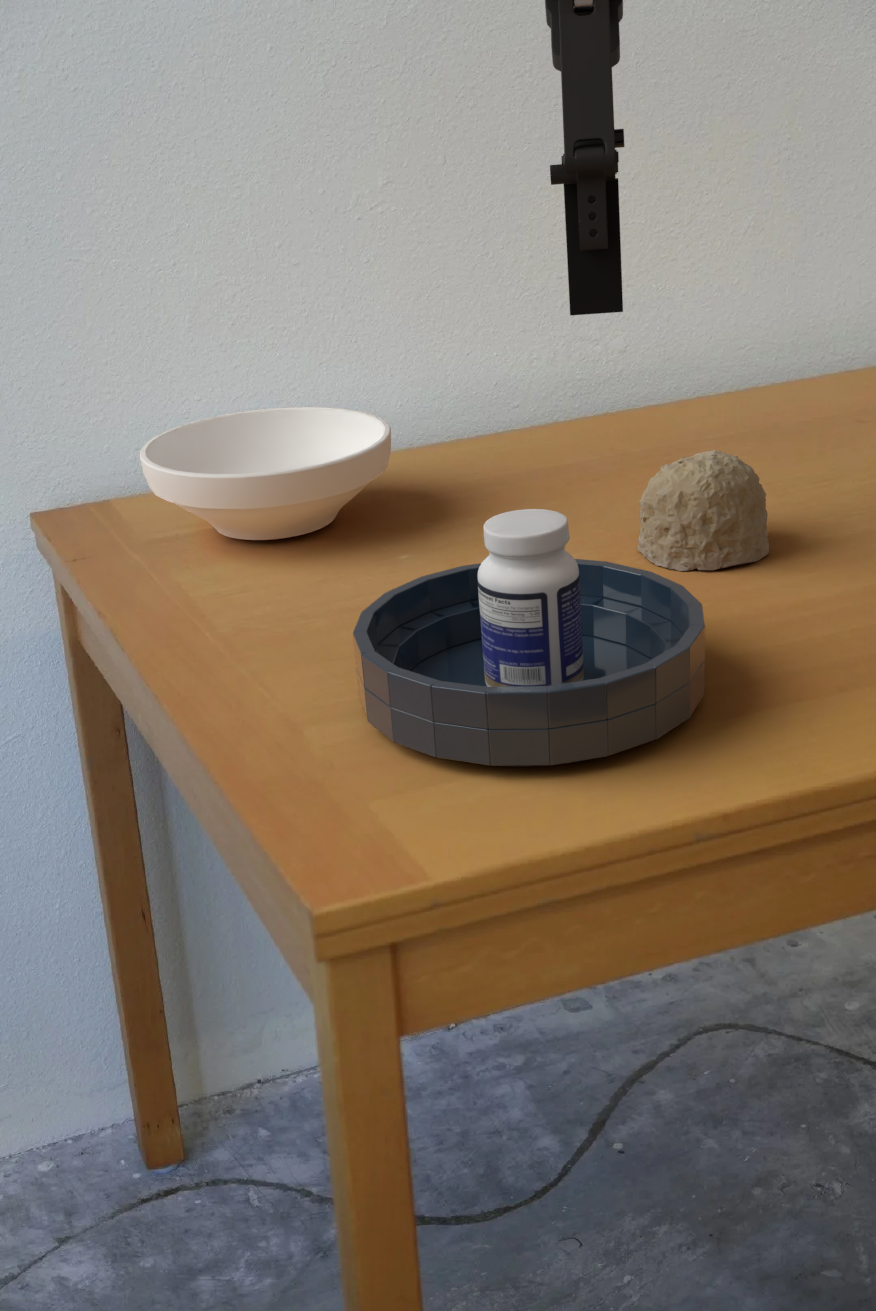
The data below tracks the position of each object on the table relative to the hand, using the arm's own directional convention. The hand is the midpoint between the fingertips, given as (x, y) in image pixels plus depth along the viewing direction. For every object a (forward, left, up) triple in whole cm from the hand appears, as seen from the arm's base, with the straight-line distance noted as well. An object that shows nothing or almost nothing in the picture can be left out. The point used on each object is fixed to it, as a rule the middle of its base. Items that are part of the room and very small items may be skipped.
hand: (596, 288), depth 82 cm
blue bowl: (+4, +7, -22) cm, 23 cm away
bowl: (+26, -25, -22) cm, 43 cm away
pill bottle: (+4, +7, -21) cm, 23 cm away
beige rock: (-7, -17, -22) cm, 29 cm away
